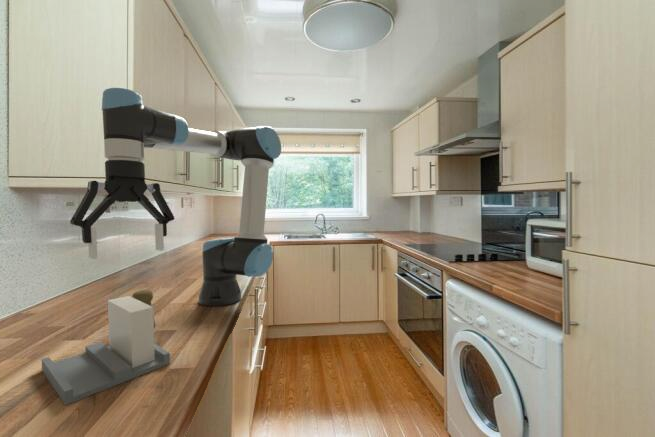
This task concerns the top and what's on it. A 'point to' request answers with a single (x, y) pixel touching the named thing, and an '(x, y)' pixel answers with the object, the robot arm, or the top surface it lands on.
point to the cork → (144, 297)
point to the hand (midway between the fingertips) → (129, 253)
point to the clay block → (131, 330)
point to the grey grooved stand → (95, 371)
